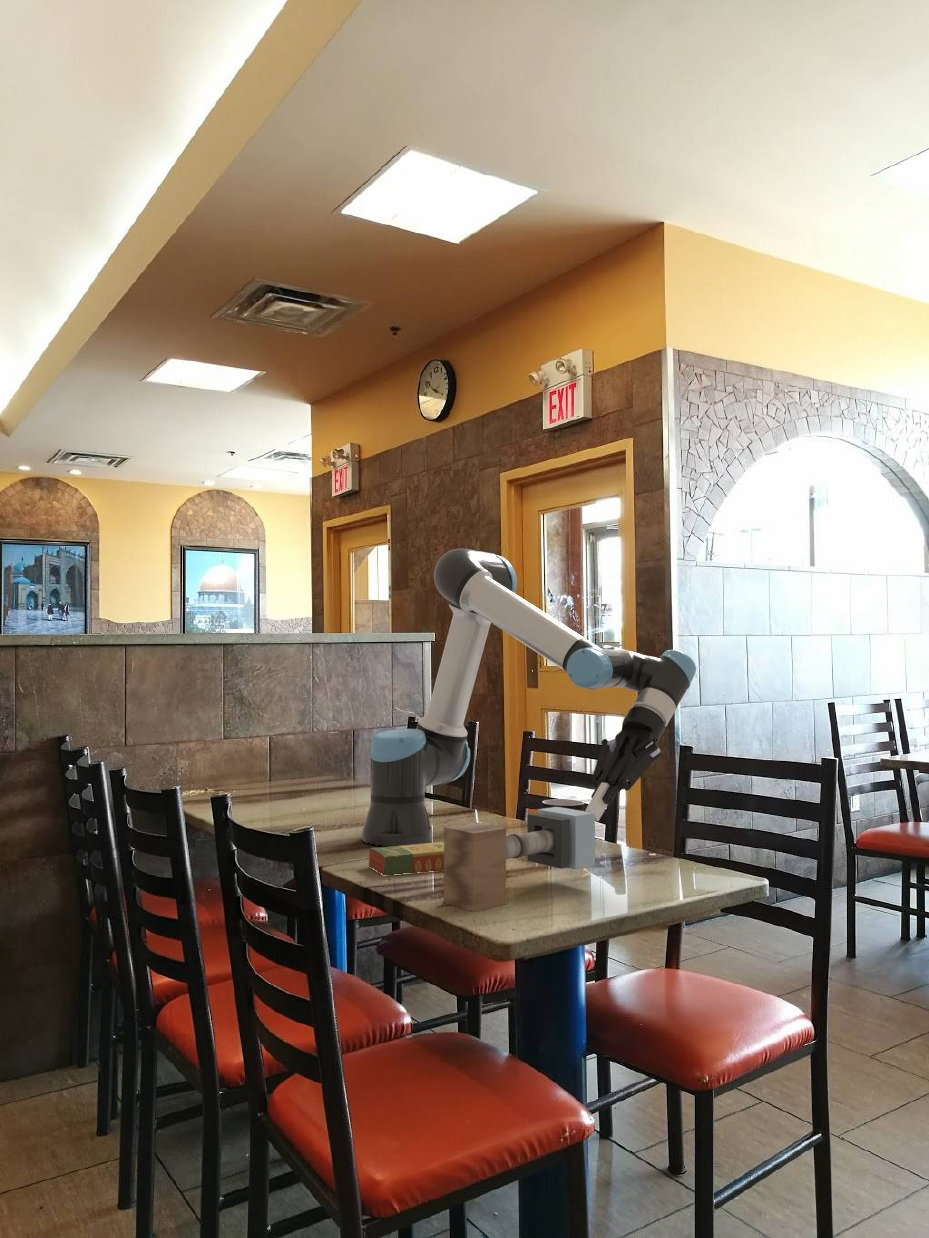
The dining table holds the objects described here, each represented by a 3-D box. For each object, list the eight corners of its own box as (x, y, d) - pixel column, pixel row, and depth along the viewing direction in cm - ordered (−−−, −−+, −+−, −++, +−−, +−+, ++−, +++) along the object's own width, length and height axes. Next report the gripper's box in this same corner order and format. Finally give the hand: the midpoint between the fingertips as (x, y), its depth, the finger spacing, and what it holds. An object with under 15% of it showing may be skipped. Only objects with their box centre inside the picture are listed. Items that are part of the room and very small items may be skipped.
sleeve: (537, 860, 167) (537, 809, 168) (556, 857, 171) (556, 806, 171) (575, 869, 161) (575, 815, 161) (594, 865, 164) (594, 812, 164)
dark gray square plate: (527, 860, 165) (527, 814, 165) (535, 859, 166) (535, 813, 167) (561, 868, 159) (561, 820, 159) (569, 866, 160) (569, 819, 161)
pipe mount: (443, 902, 152) (444, 827, 152) (569, 875, 171) (570, 808, 172) (473, 911, 146) (473, 833, 147) (599, 882, 166) (599, 813, 167)
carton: (465, 871, 176) (465, 848, 176) (383, 879, 170) (383, 855, 170) (447, 862, 184) (447, 839, 184) (368, 869, 177) (368, 846, 177)
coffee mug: (582, 856, 188) (582, 806, 189) (539, 854, 190) (539, 804, 190) (587, 845, 200) (587, 798, 200) (546, 843, 201) (546, 796, 202)
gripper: (685, 733, 178) (630, 834, 166) (629, 728, 187) (573, 824, 176) (668, 705, 174) (610, 806, 163) (612, 703, 184) (554, 798, 172)
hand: (591, 815), depth 169 cm, fingers closed
